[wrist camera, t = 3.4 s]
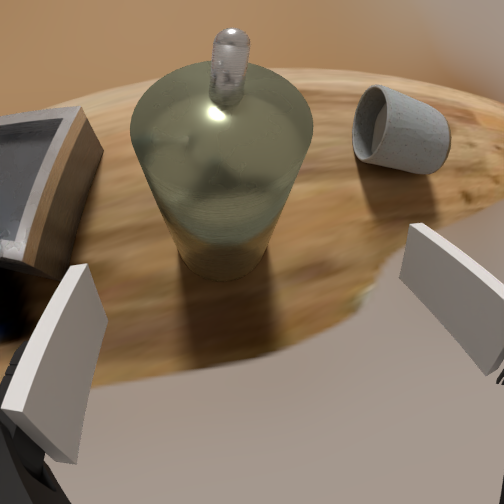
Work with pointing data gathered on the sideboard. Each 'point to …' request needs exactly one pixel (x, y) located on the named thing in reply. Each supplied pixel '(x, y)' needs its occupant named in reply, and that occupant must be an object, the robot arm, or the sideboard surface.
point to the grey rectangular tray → (44, 187)
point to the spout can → (221, 155)
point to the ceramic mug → (399, 132)
